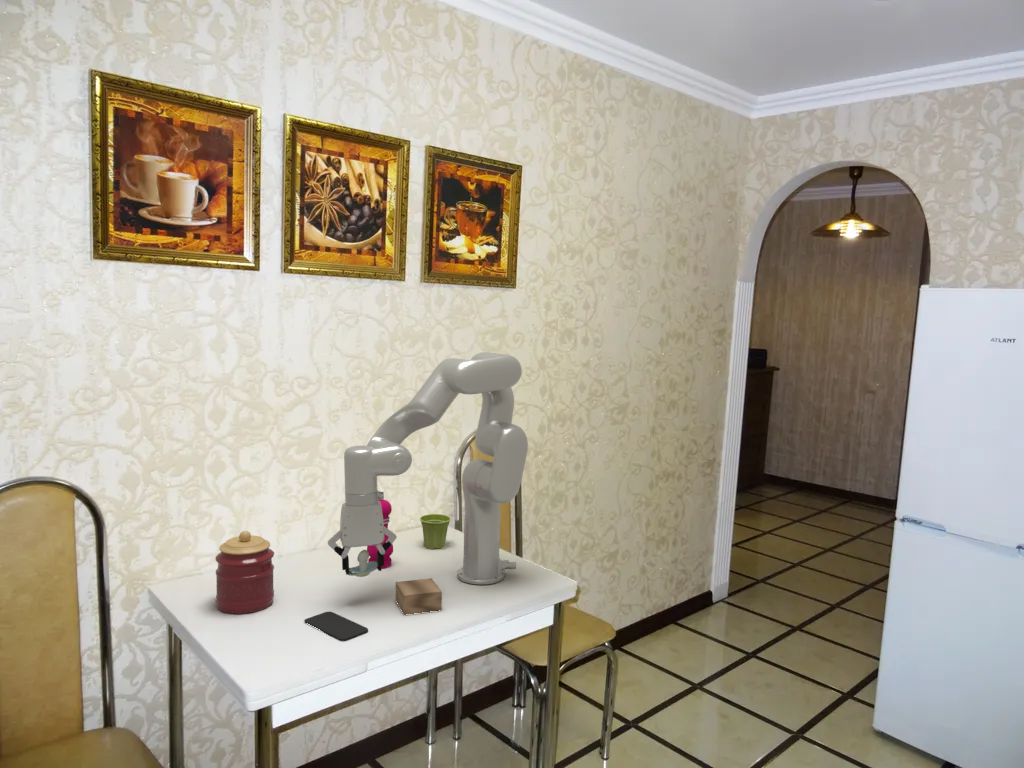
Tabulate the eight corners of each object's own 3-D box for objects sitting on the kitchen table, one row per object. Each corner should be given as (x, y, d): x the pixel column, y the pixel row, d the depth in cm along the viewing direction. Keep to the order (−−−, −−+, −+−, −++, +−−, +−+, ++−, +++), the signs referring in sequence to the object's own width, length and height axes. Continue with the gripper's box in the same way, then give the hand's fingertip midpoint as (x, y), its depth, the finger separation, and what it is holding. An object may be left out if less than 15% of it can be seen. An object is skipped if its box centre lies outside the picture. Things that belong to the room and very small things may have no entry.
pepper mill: (398, 564, 201) (399, 493, 199) (380, 571, 195) (381, 498, 193) (379, 558, 205) (380, 489, 203) (361, 565, 199) (361, 494, 197)
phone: (329, 610, 167) (370, 629, 158) (329, 613, 168) (370, 632, 158) (301, 620, 162) (342, 640, 152) (301, 623, 162) (342, 643, 152)
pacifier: (341, 575, 173) (355, 581, 169) (340, 549, 172) (354, 555, 168) (366, 567, 178) (381, 572, 174) (365, 542, 177) (380, 547, 173)
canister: (215, 597, 174) (214, 525, 173) (271, 590, 179) (271, 521, 178) (216, 618, 162) (215, 542, 161) (276, 610, 167) (276, 536, 166)
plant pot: (455, 544, 220) (456, 516, 219) (440, 553, 211) (441, 524, 211) (429, 539, 224) (429, 512, 223) (413, 548, 215) (413, 519, 214)
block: (431, 597, 178) (431, 578, 178) (441, 611, 170) (441, 591, 170) (395, 602, 175) (395, 582, 175) (403, 616, 167) (404, 595, 166)
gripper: (396, 491, 177) (397, 561, 179) (322, 497, 172) (325, 569, 174) (400, 499, 170) (401, 572, 172) (324, 505, 165) (326, 580, 167)
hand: (363, 570), depth 173 cm, fingers closed on pacifier, 7 cm apart
